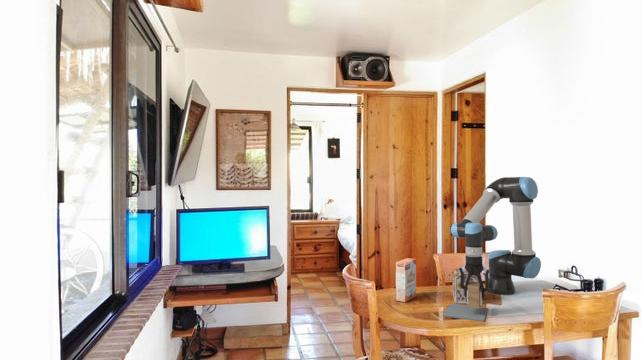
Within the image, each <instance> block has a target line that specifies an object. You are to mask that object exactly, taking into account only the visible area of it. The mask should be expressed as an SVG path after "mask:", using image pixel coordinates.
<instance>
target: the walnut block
mask: <svg viewBox="0 0 641 360" xmlns="http://www.w3.org/2000/svg"><path fill="white" fill-rule="evenodd" d="M467 288H468V304H467V305H468V307H471V308H480V307H481V306H480V291H481V288H480V284H479V282H471V281H470V282H469V284H468V286H467Z"/></svg>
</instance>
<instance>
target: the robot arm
mask: <svg viewBox="0 0 641 360" xmlns="http://www.w3.org/2000/svg"><path fill="white" fill-rule="evenodd" d="M538 188H539V187H538V185H537V182H536V181H535V179H533V178H532V177H530V176H528V177H527V176H513V177H508V176H507V177H506V176H505V177H500V178H498V179H496V180H494V181H492V182H491V183H490V184H488V186H487V187H486V188H484V190H483V192H482V194H481V196H480V197H479V199H478V200H477V202H476V203H475V204H474V205H473V207H472V208H471V209H470V210H469V211H468V212H467V214H466V215H465V216H464V217H463V218H462V219H461V220H460V222H454V223H453V224H452V225H451V227H450V233H451V236H452V237H454V238H458V239H465V240H464V241H465V265H464V266H465V267H462V266H460V267H459V268H458V269H459V270H460V287H461V288H462V289H464V290H465V297H467V304H466V305H468V288H467V286H468V284H469V282H470V278H471V275H476V276H477V278H478V281H479V284H480V288H481V291H480V307H483V299H485V296H486V295H485V294H486V292H488V293H490V294H495V295H503V296H508V295H514V294H515V293H516V287H515V285H514V281H513V278H512V276H515V277H520V278H524V279H535V278H536V277H538V275H539V273H540V271H541V268H542V260H541V259H540V258H539V257H538V256H536V255H537V254H536V251H534V250H533V239H532V238H533V237H532V236H533V235H532V233H533V232H532V214H531V213H532V212H531V205H532V204H534V200H535V199H537V197H538V193H539V191H538V190H539V189H538ZM502 199H508V201H509V203H510V204H511V205H512V220H513V221H512V222H513V224H512V225H513V243H514V249H513V250H509V249H498V250H492V251H490V252H489V253H488V268H485V267H484V264H483V242H484V243H485V242H490V241H493V240H495V239H496V238H497V237H498V234H499V232H498V229H497V228H496V227H495V226H494V225H491V224H486V225H483V224H482V223H480V222H481V221H482V220H483V219H484V218H485V216H486V215H487V214H488V212H490V210H491V209H492V207H493V206H494V205H495V204H496V203H499V202H500V200H502ZM465 269H466V270H467V272H468V277H467V281H466V285H465V286H464V271H465ZM482 272H483V273H484V282H483V279H482V275H481V273H482ZM484 283H485V285H484Z"/></svg>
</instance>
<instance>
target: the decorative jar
mask: <svg viewBox="0 0 641 360" xmlns="http://www.w3.org/2000/svg"><path fill="white" fill-rule="evenodd" d="M461 267H465V265H462V266H461ZM467 277H468V272H467V270H466V269H465V271H464V286H465V285H466V281H467ZM470 281H471V282H479V281H478V278H477V276H476V275H471V278H470ZM452 298H453V300H454V304H461V305H468V304H467V297H465V290H464V289H462V288H461V287H460V270H459V268H458V269H453V272H452Z"/></svg>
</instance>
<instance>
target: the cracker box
mask: <svg viewBox="0 0 641 360" xmlns="http://www.w3.org/2000/svg"><path fill="white" fill-rule="evenodd" d="M416 297H417V259H416V258H409V257H406V258H404V259H401V260H398V261H396V262H395V301H396V302H399V303H400V302H401V303H407V302H409V301H411V300H412V299H414V298H416Z"/></svg>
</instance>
